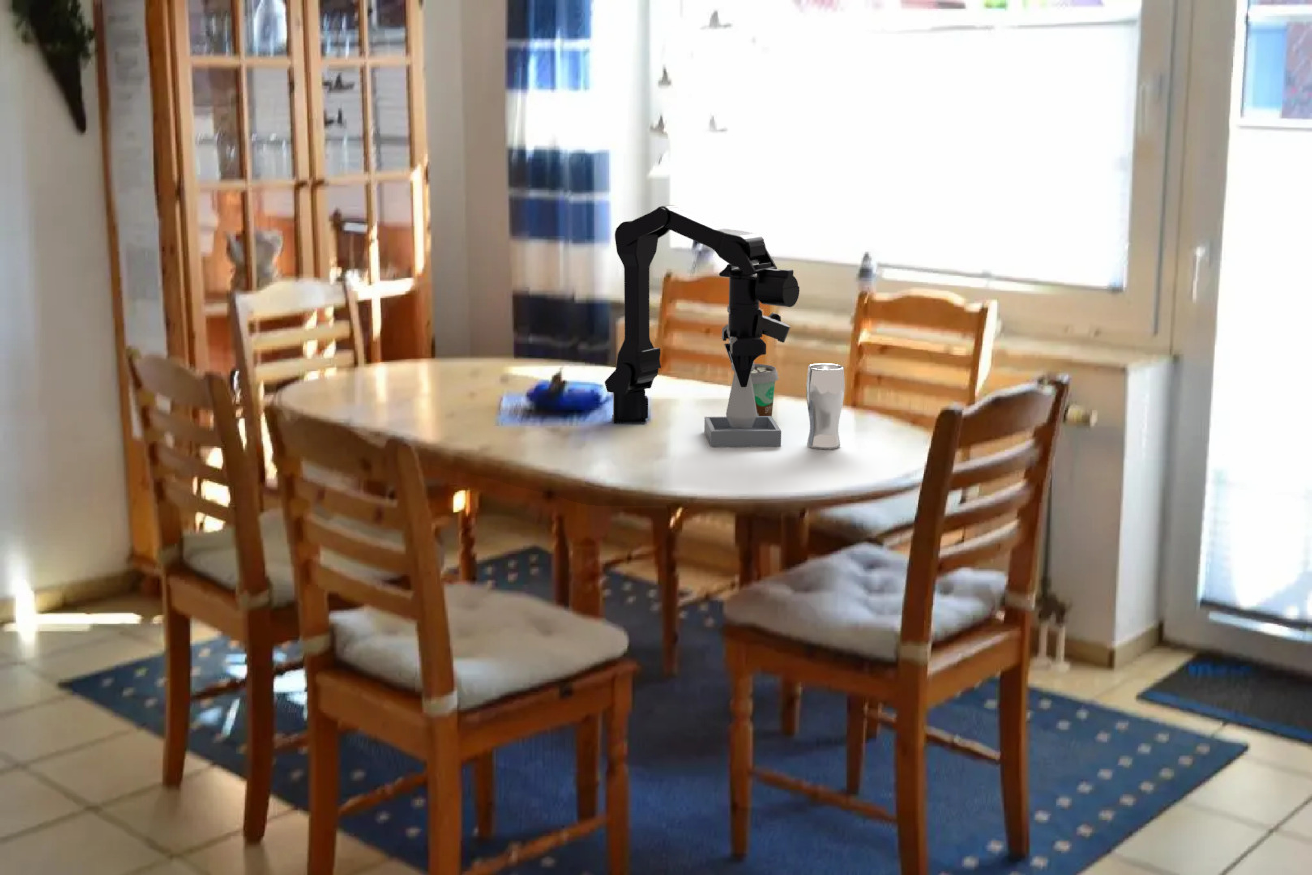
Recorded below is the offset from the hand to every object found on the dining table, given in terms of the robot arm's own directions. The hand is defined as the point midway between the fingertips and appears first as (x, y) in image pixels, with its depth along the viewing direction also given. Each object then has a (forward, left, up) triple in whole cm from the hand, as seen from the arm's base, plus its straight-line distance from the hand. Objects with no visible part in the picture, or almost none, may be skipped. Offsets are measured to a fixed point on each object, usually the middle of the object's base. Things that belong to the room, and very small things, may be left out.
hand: (742, 384), depth 294 cm
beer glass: (+15, -7, -11) cm, 19 cm away
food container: (+7, +19, -11) cm, 23 cm away
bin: (0, 0, -10) cm, 10 cm away
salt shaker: (0, 0, -8) cm, 8 cm away
